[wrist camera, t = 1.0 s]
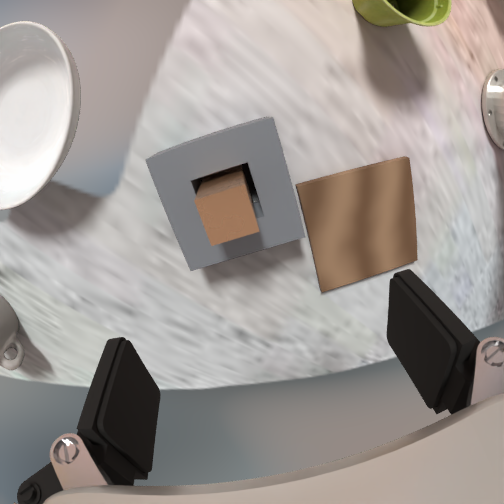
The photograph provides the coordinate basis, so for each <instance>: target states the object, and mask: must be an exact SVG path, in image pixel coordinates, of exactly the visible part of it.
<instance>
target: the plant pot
mask: <svg viewBox="0 0 504 504" xmlns="http://www.w3.org/2000/svg"><path fill="white" fill-rule="evenodd" d="M352 1H353V4H354V7H355V9H356V10H357V11H358V12H359V13H360V14H361V15H362V16H363V17H364V19H365V20H366V21H368V22H370V23H372V24H374V25H377V26H382V27H386V26H393V25H399V24H407V23H413V24H416V25H420V26H436V25H439V24H441V23H443V22H444V21H445V20H446V19H447V18H448V16H449V14H450V12H451V0H352ZM393 4H394V6H395V8H396V9H395V8H394V7H393Z"/></svg>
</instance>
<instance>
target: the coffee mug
mask: <svg viewBox="0 0 504 504" xmlns="http://www.w3.org/2000/svg"><path fill="white" fill-rule="evenodd" d="M18 331H19V322H18V318H17V316H16V314H15V312H14V310H13V308H12V307H11V305H10V304H9V303H8V302H7V300H6V299H5V298H4V297H3V296H1V295H0V365H1V366H2V367H3V368H5V369H8V370H15V369H17V368H18V367H19V366H20V365H21V363H22V361H23V358H24V348H23V346H22V344H21V343H20V341H19V340H18V339H17V336H16V334H17V333H18ZM9 348H14V349H15V350H16V351H17V356H16V358H14V359H13V360H9V359H7V358H6V357H5V356H4V353H5V351H6V350H7V349H9Z"/></svg>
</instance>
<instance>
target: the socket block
mask: <svg viewBox="0 0 504 504" xmlns="http://www.w3.org/2000/svg"><path fill="white" fill-rule="evenodd" d="M247 162H248V165H249V169H250V172H251V175H252V178H253V181H254V185H255V188H256V191H257V194H258V198H259V202H256V203H253V205H254V210H255V214H256V218H257V223H258V227H259V231H260V232H256V233H253V234H250V235H246V236H243V237H240V238H237V239H233V240H230V241H227V242H223V243H220V244H217V245H214V246H211V243H210V241H209V238H208V236H207V233H206V231H205V228H204V225H203V223H202V220H201V217H200V215H199V212H198V210H197V207H196V204H195V202H194V200H195V197H196V195H197V192H198V190H199V187H200V185H201V182H200V179H199V178H200V177H203V176H206V175H209V174H212V173H215V172H218V171H221V170H224V169H228V168H231V167H234V166H237V165H240V164H244V163H247ZM146 163H147V166H148V168H149V171H150V173H151V176H152V179H153V181H154V184H155V186H156V189H157V192H158V194H159V197H160V199H161V202H162V204H163V207H164V209H165V212H166V214H167V216H168V219H169V221H170V224H171V226H172V229H173V231H174V233H175V236H176V238H177V240H178V243H179V245H180V247H181V250H182V252H183V254H184V257H185V259H186V261H187V264H188V266H189V268H190V270H191V271H193V270H196V269H200V268H203V267H206V266H210V265H213V264H216V263H220V262H223V261H227V260H230V259H233V258H237V257H240V256H243V255H247V254H250V253H253V252H257V251H260V250H264V249H267V248H270V247H274V246H277V245H280V244H284V243H287V242H290V241H294V240H297V239H300V238H304V237H305V234H304V230H303V226H302V222H301V218H300V214H299V210H298V206H297V202H296V198H295V194H294V190H293V187H292V183H291V179H290V175H289V172H288V168H287V164H286V161H285V157H284V154H283V150H282V147H281V143H280V140H279V136H278V133H277V129H276V126H275V122H274V119H273V117H264V118H260V119H257V120H253V121H250V122H246V123H243V124H239V125H236V126H233V127H230V128H226V129H223V130H220V131H217V132H214V133H211V134H208V135H205V136H202V137H199V138H196V139H193V140H191V141H188V142H185V143H182V144H179V145H177V146H174V147H171V148H169V149H166V150H164V151H161V152H158V153H156V154H155V155H153V156H151V157H150V158H148V159H146Z"/></svg>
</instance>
